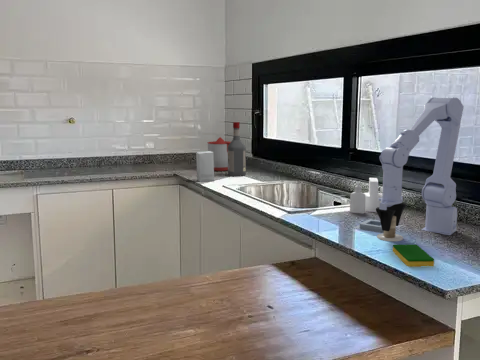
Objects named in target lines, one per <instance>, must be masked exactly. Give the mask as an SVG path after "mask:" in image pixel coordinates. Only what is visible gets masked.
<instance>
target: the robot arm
mask: <svg viewBox="0 0 480 360" xmlns="http://www.w3.org/2000/svg"><path fill="white" fill-rule="evenodd" d="M463 111H464V105H463V103H462V101H461V100H460V98H458V97H430V98H429V99H428V100H427V102H426V103H425V104H424V105H423V111H422V113H420V115H419V117H417V119H416V120H415V122H414V123H413V125H411V127H410V128H409V129H404V130H402V131H401V132H400V134H399V136H398V137H397V138H396V139H395V140H394V141H393V142H391V145H390V146H387V147H385V148H384V149H382V150H381V153H380V155H379V161H380V163H381V168H382V173H383V175H382V192H381V193H382V198H379V201H381V203H380V207H377V208H376V212H375V213H377V215H378V217H379V221H380V222H381V227H382V230H383V231H389V230H390V227H391V221H392V217H393V216H396V227H399V225H400V221H401V218H402V215H403V212H404V210H405V209H406V207H407V204H406V203H404V202H403V200H404V198H403V197H404V196H403V195H402V193H403V192H402V189H403V187H402V186H403V172H404V171H403V169H404V165H406V164H407V162H408V160H409V156H410V153H411V151H412V150H413V149H414V148H415V147H416V146H417V144H418V143H419V142H420V135H422V133H423V132H425V131H426V130H427V129H428V128H429V126H430V125H432V123H433V122H434V121H435V122H436V123H437V124H438V125H439V126H440V128H441V131H440V135H439V141H438V147H437V151H436V156H435V162H434V168H433V173H432V175H430V176H429V177H427V178H426V179H425V183H424V186H423V187H422V189H421V198H422V199H423V200H424V204H426V207H425V208H426V209H425V224H424V225H425V226H424V227H423V228H421V230H420V231H422V232H423V231H424V232H429V233H438V234H440V235H444V236H452V235H453V234H454V233H455V232H457V222H458V208H457V207H455V206H453V204H454V202H455V201H456V199H457V192H456V191H457V190H456V189H457V188H456V187H457V184H456V182H455V181H454V180H453V179H452V177H451V176H452V169H453V164H454V159H455V153H456V150H457V143H458V138H459V134H460V128H461V123H462V122H461V121H462V117H463Z"/></svg>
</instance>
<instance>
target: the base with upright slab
mask: <svg viewBox="0 0 480 360" xmlns="http://www.w3.org/2000/svg"><path fill="white" fill-rule="evenodd" d="M363 193H364V194H365V212H370V213H371V212H372V213H377V212H376V208H377V207H380V203H381V201H379V198H382V192H381V193H380V192H379V179H378V177H369V178H368V191H367V192H363Z"/></svg>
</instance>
